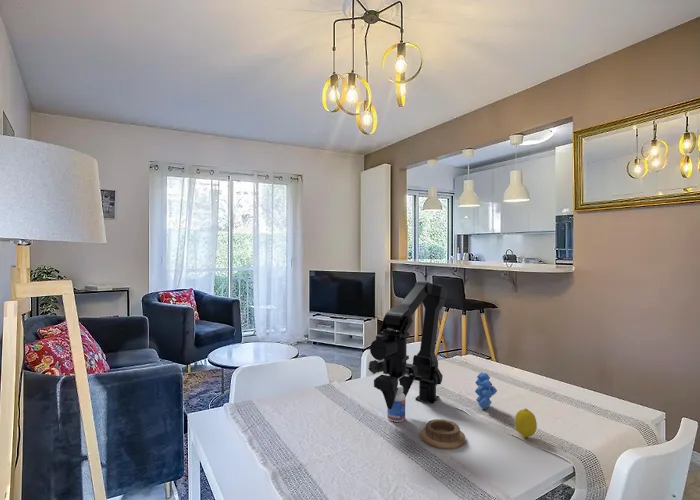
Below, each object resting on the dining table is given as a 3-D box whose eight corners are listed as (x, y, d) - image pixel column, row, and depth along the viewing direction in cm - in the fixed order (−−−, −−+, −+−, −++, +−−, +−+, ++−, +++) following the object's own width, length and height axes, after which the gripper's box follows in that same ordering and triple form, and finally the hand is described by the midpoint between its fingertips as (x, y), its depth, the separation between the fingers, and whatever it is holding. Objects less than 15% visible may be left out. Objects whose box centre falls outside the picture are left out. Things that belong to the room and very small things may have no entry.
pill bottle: (404, 423, 119) (404, 390, 118) (386, 421, 120) (386, 389, 120) (405, 415, 124) (406, 384, 124) (388, 414, 125) (388, 383, 125)
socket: (429, 424, 118) (430, 413, 118) (470, 435, 112) (470, 423, 112) (413, 441, 108) (413, 429, 108) (457, 453, 101) (457, 441, 101)
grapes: (502, 416, 124) (503, 378, 124) (480, 416, 124) (481, 377, 124) (491, 402, 135) (492, 366, 135) (471, 401, 136) (471, 366, 136)
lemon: (535, 434, 112) (535, 406, 112) (537, 444, 107) (538, 414, 107) (514, 431, 114) (514, 403, 114) (515, 440, 109) (515, 411, 109)
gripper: (387, 342, 134) (387, 389, 134) (358, 355, 118) (357, 408, 118) (418, 347, 128) (418, 396, 128) (392, 361, 112) (391, 417, 112)
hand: (396, 403), depth 122 cm, fingers open, 9 cm apart
